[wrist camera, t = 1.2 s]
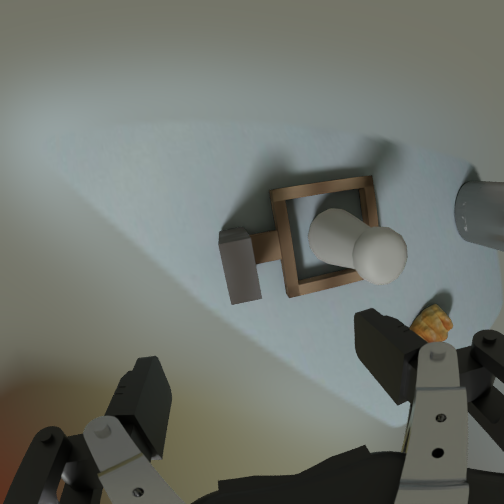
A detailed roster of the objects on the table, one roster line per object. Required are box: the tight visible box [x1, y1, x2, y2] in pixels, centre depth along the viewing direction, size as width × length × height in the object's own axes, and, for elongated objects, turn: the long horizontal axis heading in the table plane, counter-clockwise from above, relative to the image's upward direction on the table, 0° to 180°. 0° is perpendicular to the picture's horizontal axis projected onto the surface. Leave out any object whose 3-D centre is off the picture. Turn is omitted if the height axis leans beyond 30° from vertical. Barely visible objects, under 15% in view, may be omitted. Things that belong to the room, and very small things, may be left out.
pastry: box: [410, 304, 453, 343], centre depth 34 cm, size 9×7×4 cm
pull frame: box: [218, 176, 379, 305], centre depth 27 cm, size 17×11×8 cm, turn 100°
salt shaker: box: [308, 208, 408, 285], centre depth 25 cm, size 6×6×13 cm
